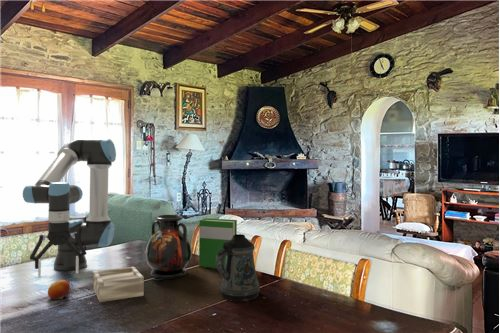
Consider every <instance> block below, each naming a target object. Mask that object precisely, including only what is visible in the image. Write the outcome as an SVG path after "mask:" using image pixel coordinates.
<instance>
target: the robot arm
mask: <svg viewBox="0 0 500 333" xmlns="http://www.w3.org/2000/svg"><path fill="white" fill-rule="evenodd" d="M116 158H117V152H116V146H115V144H114V141H112V140H111V139H109V138H103V137H102V138H101V137H99V138H95V137H92V138H91V137H89V138H87V137H86V138H85V137H80V138H79V137H78V138H76V139H72V140H71V141H69V142H67V143H66V144H64V145H63V146H62V147H61V148H60V149H59V150H58V152H57V155H56V157H55V159H54V160H53V161H52V162H51V164H50V165H49V166H48V168H47V169H46V170H45V171H44V172H43V174H42V175H41V177H39V179H38V181H36V183H35V184H27V185H25V187H24V188H23V190H22V198H23V201H24V202H26V203H27V204H48V221H49V222H48V229H47V230H48V231H47V234H42V233H41V234H39V237H38V241H37V243H36V245H35V246H34V248H33V249H32V252H31V254H30V255H29V260H32V261H34V269H36V270H37V271H38V272H37V275H38V276H37V277H38V279H40V278H41V277H42V276H41V266H42V265H41V257H43V256H44V255H45V253H46V252H47V251H48V250H49V249H50V248H51V247H52V246H54V247H55V246H57V253H56V256H55V260H54V262H53V270H56V271H75V274H79V270H80V269H83V268H86V267H87V266H88V265H87V264H88V263H87V258H86V255H87V252H86V250H85V248H84V247H99V248H101V247H109V245H111V243H112V242H113V239H114V236H115V231H116V229H115V223H113V222H112V220H111V218H110V217H109V212H108V207H109V206H108V202H109V168H111V167H112V163H114V162H115V161H116ZM79 162H86V165H87V167H88V168H89V210H88V212H89V213H88V214H89V215H88V217H87V218H86V220H85V222H84V219H82V218H81V219H79V218H78V219H71V220H70V207H71V206H70V204H71V205H72V204H75V203H78V202H79V201H81V200H82V198H83V196H84V195H83V193H84V192H83V190H82V188H81V187H80V186H78V185H77V184H76V185H74V184H70V183H69V182H63V181H62V180H63V179H64V177H65V176H66V174H67V173H68V172H69V170H70V169H71V167H72V166H74V165H76V164H77V163H79ZM46 239H47V240H48V242H47V243H46V245H45V246H44V247H43V248H42V249H41V250H40V251H39V253H38V250H39V249H40V247H41V245H42V244H43V241H45V240H46ZM37 253H38V254H37Z"/></svg>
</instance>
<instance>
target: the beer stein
mask: <svg viewBox="0 0 500 333" xmlns="http://www.w3.org/2000/svg"><path fill="white" fill-rule="evenodd" d="M255 247H256V246H255V245H254V243H253V242H251V241H250V240H249V239H248V238H247V237H246V235H245V234H240V233H238V234H236V235H234V236H233V238H232V239H231V240H230V241H227V242H224V243H223V249H221V250H220V251H219V252H218V254H217V257H216V267H217V268H216V269H217V271H218V272H219V275H220V276H221V277H222V281H221V284H220V285H219V291H220V296H222V297H221V298H222V299H225V300H226V299H227V301H229V300H232V301H231V302H235V301H246V302H248V301H247V300H251V299H254V298H256V297H257V296H258V297H259V292H260V289H261V288H260V284H259V280H258V276H257V272H256V271H257V270H256V265H255V258H254V251H255ZM225 256H226V260H225V266H223V260H224V258H225ZM258 297H257V298H258ZM257 298H256V299H257ZM254 300H255V299H254ZM251 301H252V300H251Z"/></svg>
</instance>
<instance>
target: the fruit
mask: <svg viewBox="0 0 500 333" xmlns="http://www.w3.org/2000/svg"><path fill="white" fill-rule="evenodd" d="M70 287H71V285H70V282H69V281H67V280H65V279H59V280H57V281H55V282H53V283H51V284H50V285H49V287H48V290H47V296H48V297H49V298H50V299H52V300H63V298H64V297H70V295H69V294H70V293H69V292H70Z"/></svg>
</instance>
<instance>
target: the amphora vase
mask: <svg viewBox="0 0 500 333" xmlns="http://www.w3.org/2000/svg"><path fill="white" fill-rule="evenodd" d="M154 218H155V221H153V222H152V225H151V236H150V239H149V240H148V241H147V242H148V243H147V244H146V248H145V261H146V263H147V265H148V266H149V267H150V268H151V271H150V275H151V276H152V277H153V278H155V279H158V280H159V279H160V280H174V279H178V278H182V277H183V276H185V275H186V273H187V270H186V267H187V266H188V264H189V263H190V261H191V258H192V247H191V242H190V241H189V239H188V236H187V235H188V230H187V226H186V224H185V223H183V222H181V221H182V220H183V219H184V218H183V216H182V215H179V214H161V215H160V214H159V215H157V216H155V217H154ZM179 222H180V223H179ZM156 225H157V226H158V228H157V230H156ZM180 227H182V230H183V231H182V230H181V229H180Z"/></svg>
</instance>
